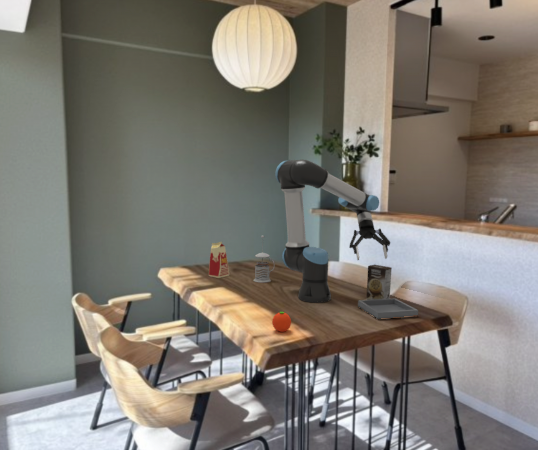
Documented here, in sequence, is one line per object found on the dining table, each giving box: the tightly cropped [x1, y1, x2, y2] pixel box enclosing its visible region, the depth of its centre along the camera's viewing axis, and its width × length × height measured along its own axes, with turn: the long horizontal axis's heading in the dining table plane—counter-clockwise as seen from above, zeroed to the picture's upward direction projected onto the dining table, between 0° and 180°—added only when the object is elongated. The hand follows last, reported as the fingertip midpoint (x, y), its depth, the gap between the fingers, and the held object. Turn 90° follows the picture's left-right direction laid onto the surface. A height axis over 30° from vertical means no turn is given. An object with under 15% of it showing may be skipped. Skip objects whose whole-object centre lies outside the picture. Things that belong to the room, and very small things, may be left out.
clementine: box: [271, 311, 292, 333], centre depth 158 cm, size 8×7×7 cm
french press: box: [253, 235, 276, 283], centre depth 236 cm, size 10×12×25 cm
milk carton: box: [208, 241, 230, 279], centre depth 246 cm, size 9×9×20 cm
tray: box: [357, 297, 419, 320], centre depth 183 cm, size 18×18×3 cm
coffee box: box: [365, 264, 392, 300], centre depth 200 cm, size 9×6×16 cm
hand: (372, 258), depth 213 cm, fingers open, 13 cm apart
